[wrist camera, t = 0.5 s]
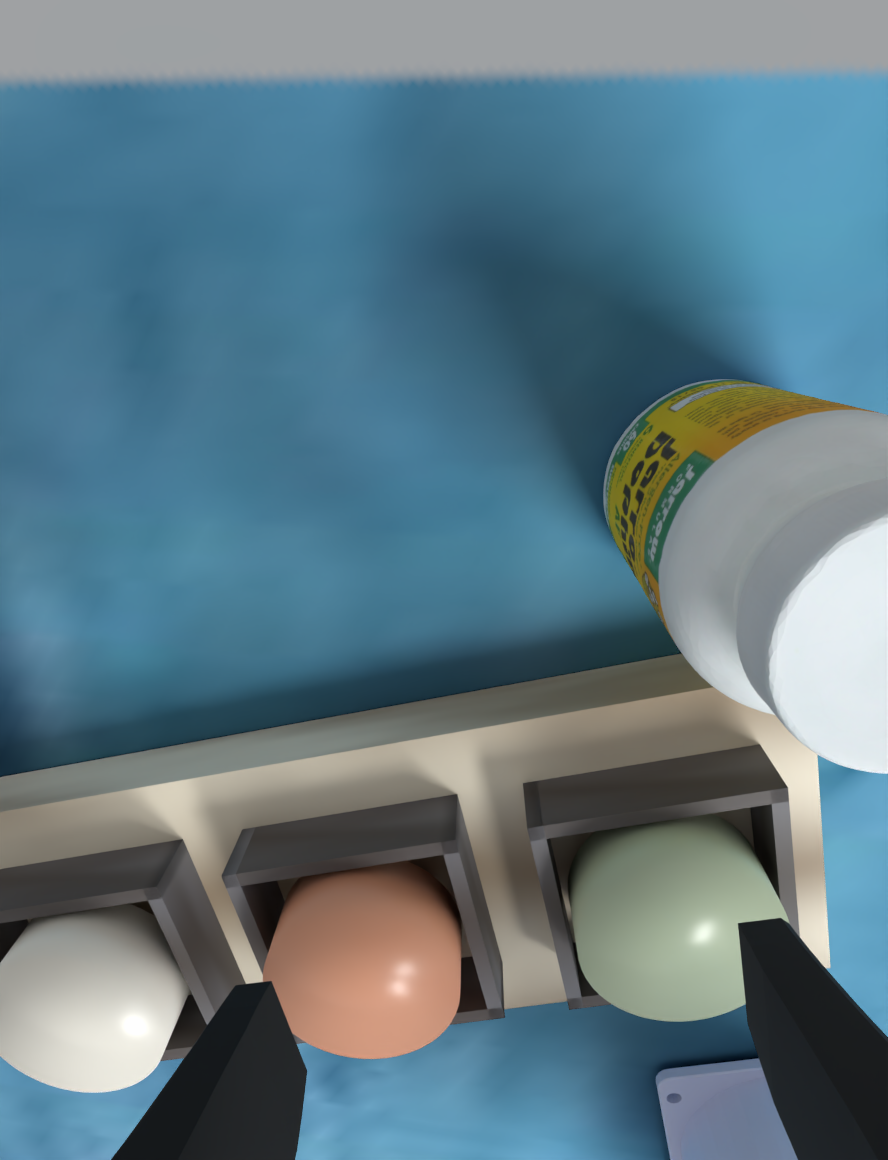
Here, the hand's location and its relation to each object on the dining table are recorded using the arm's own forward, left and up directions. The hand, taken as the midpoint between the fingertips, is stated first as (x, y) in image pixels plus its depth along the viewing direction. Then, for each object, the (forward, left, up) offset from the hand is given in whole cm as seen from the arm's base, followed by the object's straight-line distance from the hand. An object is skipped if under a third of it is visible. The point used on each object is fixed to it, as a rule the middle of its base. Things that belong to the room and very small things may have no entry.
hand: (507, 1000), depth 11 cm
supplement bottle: (+4, -6, -10) cm, 13 cm away
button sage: (-5, -3, -7) cm, 10 cm away
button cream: (-5, +13, -7) cm, 15 cm away
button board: (-5, +5, -10) cm, 12 cm away
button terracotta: (-5, +5, -7) cm, 10 cm away
